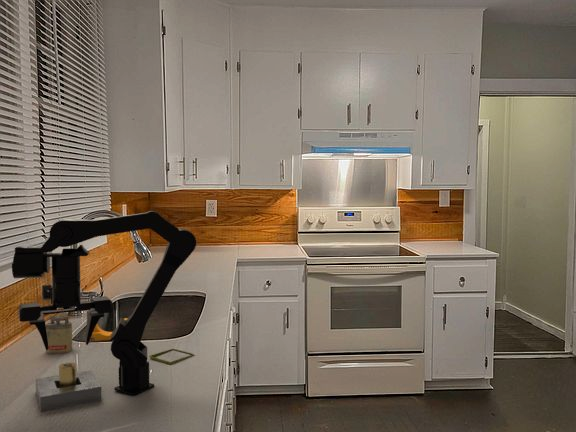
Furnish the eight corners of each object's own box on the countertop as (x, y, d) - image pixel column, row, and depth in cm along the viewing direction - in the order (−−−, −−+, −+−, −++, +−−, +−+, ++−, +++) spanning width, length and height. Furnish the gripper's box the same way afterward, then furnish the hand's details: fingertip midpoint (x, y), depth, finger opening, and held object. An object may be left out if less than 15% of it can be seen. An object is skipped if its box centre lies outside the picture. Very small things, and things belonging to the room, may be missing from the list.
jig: (101, 400, 114) (101, 386, 114) (40, 411, 108) (40, 397, 108) (91, 382, 124) (91, 370, 124) (35, 392, 118) (35, 379, 118)
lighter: (44, 354, 146) (43, 318, 146) (48, 350, 150) (47, 315, 149) (71, 353, 147) (70, 317, 147) (74, 349, 151) (73, 314, 150)
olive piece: (173, 355, 147) (173, 348, 147) (195, 361, 142) (195, 353, 141) (148, 363, 140) (148, 355, 140) (170, 370, 135) (170, 362, 134)
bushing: (80, 395, 117) (79, 363, 116) (66, 400, 114) (65, 368, 113) (69, 392, 119) (69, 361, 118) (56, 397, 116) (55, 365, 115)
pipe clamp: (87, 344, 156) (87, 323, 156) (90, 340, 160) (89, 319, 160) (129, 342, 158) (129, 321, 158) (130, 338, 163) (130, 318, 162)
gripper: (103, 269, 127) (104, 333, 127) (16, 274, 117) (17, 343, 118) (113, 275, 117) (113, 344, 118) (19, 282, 108) (20, 357, 108)
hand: (67, 347), depth 116 cm, fingers open, 8 cm apart
